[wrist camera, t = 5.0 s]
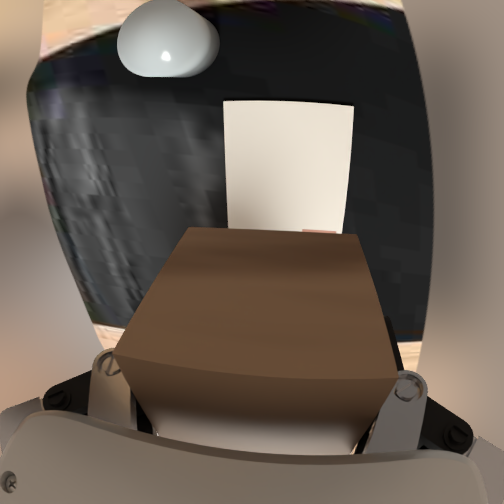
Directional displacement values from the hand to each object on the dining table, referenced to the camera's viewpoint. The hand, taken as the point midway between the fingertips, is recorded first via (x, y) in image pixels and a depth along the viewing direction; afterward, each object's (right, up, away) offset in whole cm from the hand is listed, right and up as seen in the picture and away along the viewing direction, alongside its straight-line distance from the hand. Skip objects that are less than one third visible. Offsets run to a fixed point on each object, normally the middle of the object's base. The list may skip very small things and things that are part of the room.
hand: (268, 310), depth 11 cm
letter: (+2, +8, +13) cm, 15 cm away
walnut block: (0, 0, +1) cm, 1 cm away
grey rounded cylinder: (-6, +18, +8) cm, 21 cm away
